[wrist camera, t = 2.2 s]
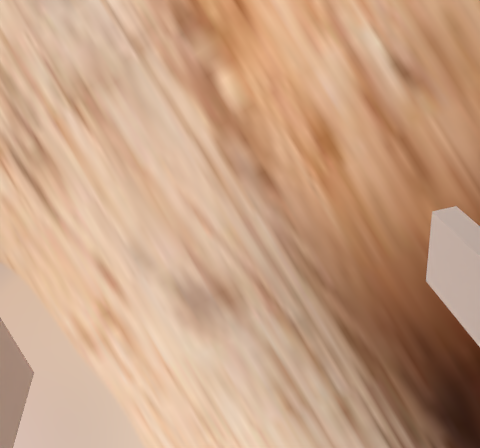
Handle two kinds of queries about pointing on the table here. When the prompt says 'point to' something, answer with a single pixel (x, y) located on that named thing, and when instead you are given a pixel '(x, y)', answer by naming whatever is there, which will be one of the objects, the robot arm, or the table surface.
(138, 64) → the table surface
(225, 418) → the table surface
